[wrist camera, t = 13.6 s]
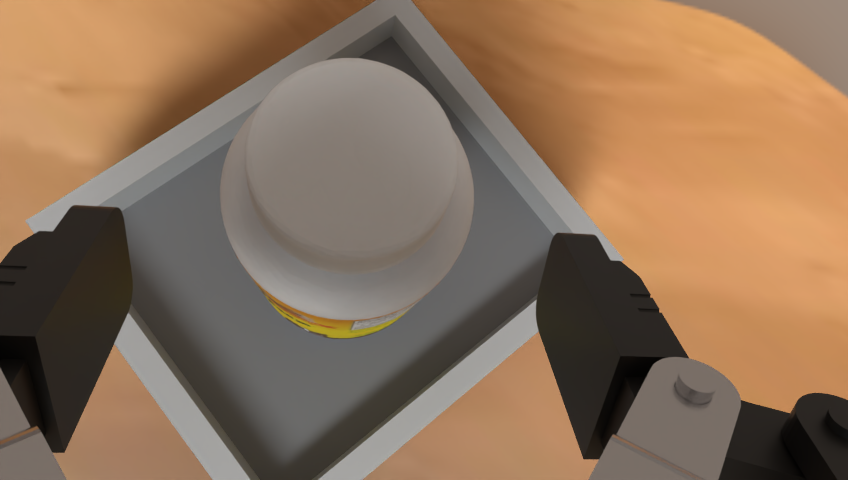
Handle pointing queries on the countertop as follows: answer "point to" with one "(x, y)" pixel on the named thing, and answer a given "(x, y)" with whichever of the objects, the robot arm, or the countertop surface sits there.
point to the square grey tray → (290, 345)
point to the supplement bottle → (346, 196)
